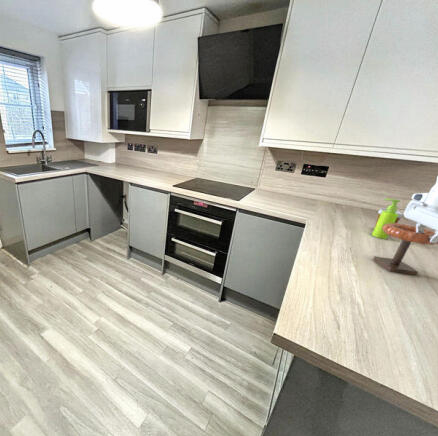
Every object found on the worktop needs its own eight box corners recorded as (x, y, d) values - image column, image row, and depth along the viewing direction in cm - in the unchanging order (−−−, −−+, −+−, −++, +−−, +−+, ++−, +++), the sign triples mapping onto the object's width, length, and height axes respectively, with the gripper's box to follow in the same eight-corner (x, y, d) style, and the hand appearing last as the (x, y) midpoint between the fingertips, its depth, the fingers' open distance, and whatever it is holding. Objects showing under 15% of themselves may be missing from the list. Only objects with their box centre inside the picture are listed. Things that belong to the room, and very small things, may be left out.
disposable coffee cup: (397, 236, 124) (408, 215, 119) (375, 233, 127) (384, 212, 122) (387, 230, 132) (397, 210, 128) (367, 227, 135) (375, 207, 131)
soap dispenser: (367, 232, 127) (383, 197, 120) (384, 235, 124) (401, 199, 117) (371, 236, 122) (388, 199, 115) (388, 239, 119) (407, 202, 112)
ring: (413, 233, 94) (417, 225, 93) (452, 249, 80) (458, 239, 79) (371, 228, 97) (374, 220, 96) (402, 242, 82) (406, 233, 81)
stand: (397, 262, 97) (413, 230, 91) (416, 275, 88) (435, 240, 83) (372, 259, 98) (387, 227, 93) (389, 271, 90) (406, 237, 84)
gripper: (494, 213, 67) (467, 254, 72) (428, 195, 86) (410, 229, 91) (468, 210, 68) (443, 251, 73) (409, 193, 87) (392, 227, 92)
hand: (424, 239), depth 82 cm, fingers closed on ring, 3 cm apart
